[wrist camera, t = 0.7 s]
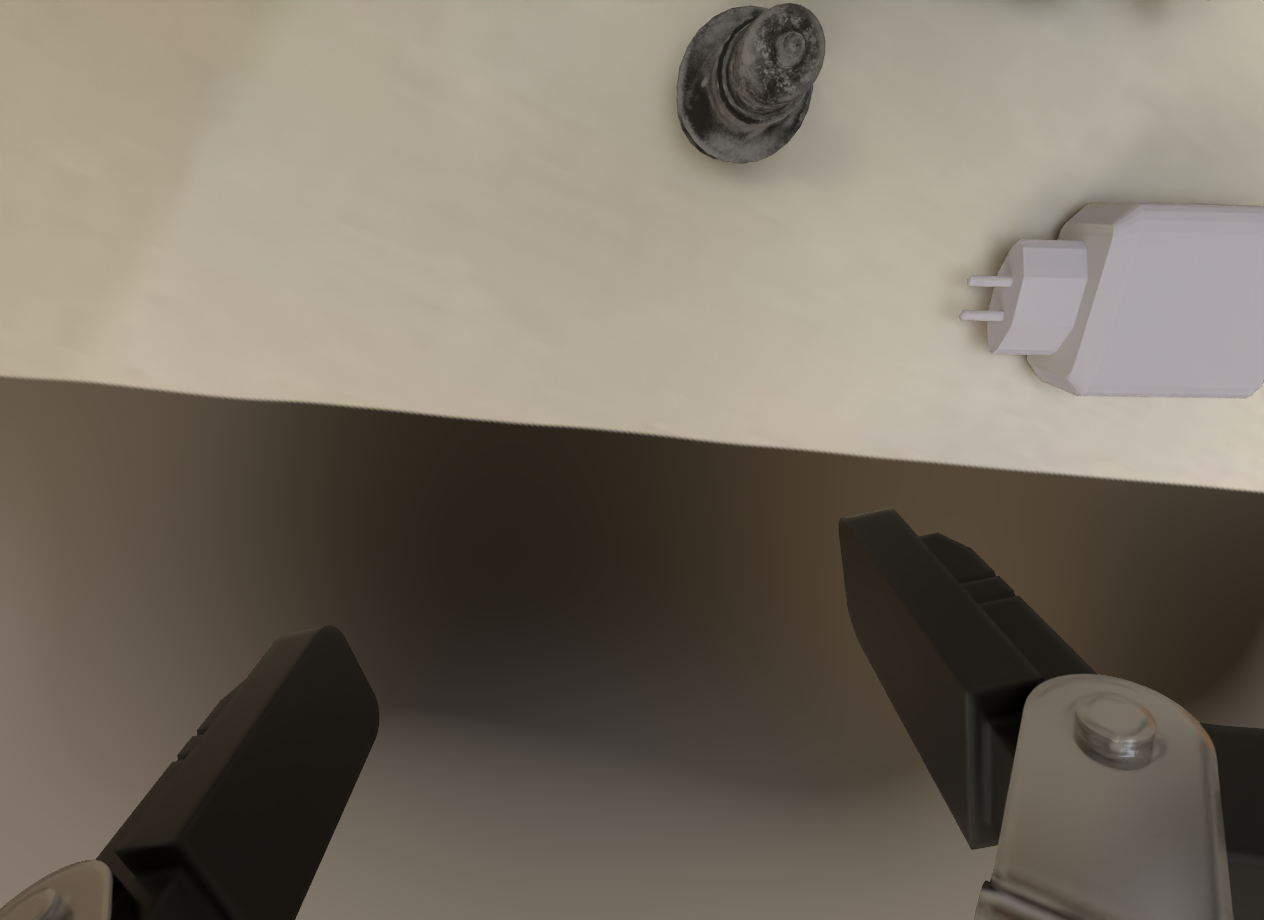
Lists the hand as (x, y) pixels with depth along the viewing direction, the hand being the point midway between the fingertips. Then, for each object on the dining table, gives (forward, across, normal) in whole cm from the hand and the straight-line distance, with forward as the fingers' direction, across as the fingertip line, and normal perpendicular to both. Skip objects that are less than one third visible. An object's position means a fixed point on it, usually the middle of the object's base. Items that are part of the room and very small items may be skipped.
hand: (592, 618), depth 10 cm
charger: (+26, -25, +5) cm, 37 cm away
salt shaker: (+26, -8, -9) cm, 29 cm away
